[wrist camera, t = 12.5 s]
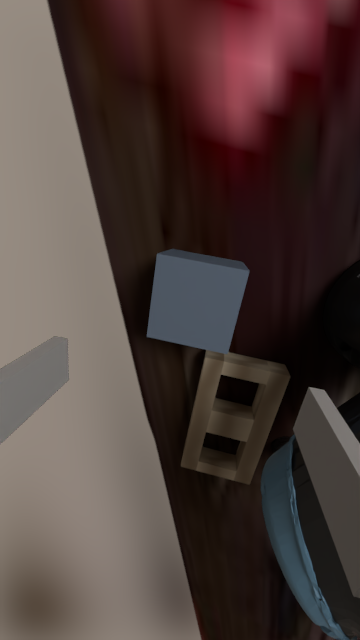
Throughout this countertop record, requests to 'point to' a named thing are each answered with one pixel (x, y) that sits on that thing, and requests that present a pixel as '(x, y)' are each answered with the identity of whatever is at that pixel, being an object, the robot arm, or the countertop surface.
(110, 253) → the countertop surface
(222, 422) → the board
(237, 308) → the slate blue cube
